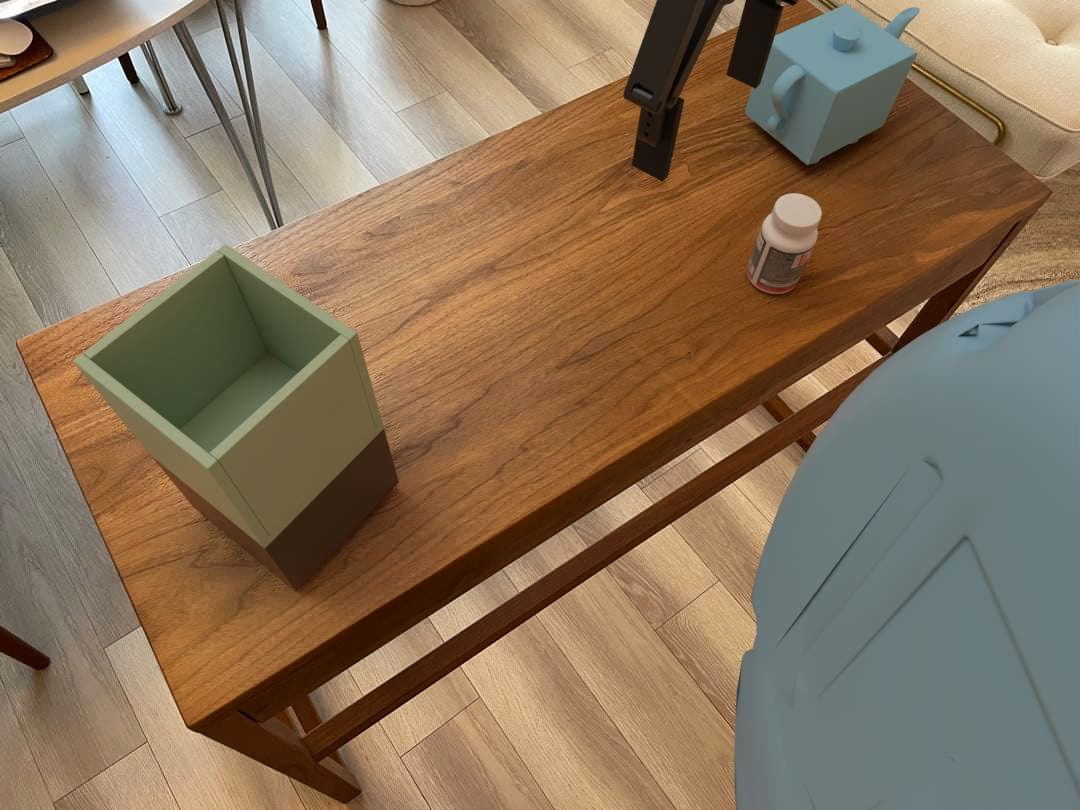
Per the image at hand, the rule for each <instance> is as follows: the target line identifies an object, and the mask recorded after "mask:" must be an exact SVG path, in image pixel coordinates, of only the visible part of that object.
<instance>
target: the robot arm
mask: <svg viewBox="0 0 1080 810" xmlns="http://www.w3.org/2000/svg"><path fill="white" fill-rule="evenodd" d="M735 1H736V0H656V2H655V5H654V7H653V10H652V13H651V15H650V18H649V21H648V24H647V27H646V29H645V32H644V35H643V38H642V41H641V43H640V46H639V48H638V52H637V54H636V57H635V60H634V63H633V65H632V68H631V71H630V74H629V77H628V79H627V82H626V84H625V87H624V89H623V94H622V95H623V96H622V98H623V99H624V100H625V101H627V102H629V103H632V104H634V105H635V106H638V107H640V111H639V118H638V123H637V130H636V136H635V142H634V147H633V155H632V160H631V166H632V167H633V168H636V169H638V170H639V171H641V172H644V173H645V174H647V175H649V176H651V177H653V178H655V179H657V180H658V181H660V182H664V181H665V180H666V179H668V177H669V174H670V169H671V165H672V160H673V156H674V151H675V146H676V142H677V138H678V133H679V128H680V125H681V124H680V122H681V119H682V113H683V108H684V105H685V99H684V98H682V97H680V95H681V93H682V91H683V89H685V88H684V87H685V86H686V83H687V82H688V80H689V78H690V75H691V73H692V71H693V69H694V67H695V65H696V63H697V61H698V59H699V57H700V55H701V53H702V51H703V49H704V47H705V45H706V43H707V41H708V39H709V37H710V35H711V33H712V30H713V28H714V26H715V24H716V22H717V21H718V19H719V17H720V15H721V12H722V11H723V8H724V7H725V6H727V5H731V4H733V3H734V2H735ZM798 2H799V0H745V1H744V4H743V9H742V13H741V16H740V20H739V24H738V29H737V33H736V37H735V40H734V43H733V46H732V47H733V48H732V51H731V55H730V59H729V63H728V67H727V71H726V74H725V75H726V76H727V77H730V78H732V79H734V80H735V81H738V82H741V84H742V83H743V84H744V85H746V86H748V87H751V88H752V87H753V88H755V89H756V88H757V87H758V86H759V85H760V83H761V80H762V77H763V73H764V70H765V67H766V64H767V60H768V57H769V54H770V50H771V47H772V44H773V40H774V37H775V36H776V35H777V30H778V27H779V24H780V20H781V17H782V13H783V11H784V6H783V5H781V4H782V3H785V4H786V5H788V6H792V7H795V6H796V5H797V3H798ZM750 601H751V606H752V609H753V612H754V615H755V618H756V635H755V639H754V642H753V646H752V648H750V649H748V650H746V651H745V652H744V653H743V655H742V656H741V663H740V668H739V673H738V680H737V684H736V685H737V686H736V690H735V691H736V692H735V716H734V720H735V721H734V745H733V756H734V757H733V775H734V776H733V781H734V782H733V784H734V802H735V810H1080V278H1079V279H1071V280H1065V281H1061V282H1059V283H1055V284H1051V285H1048V286H1044V287H1041V288H1037V289H1033V290H1027V291H1020V292H1016V293H1013V294H1009V295H1004V296H1001V297H999V298H996V299H994V300H990V301H988V302H985V303H983V304H980V305H977V306H975V307H973V308H971V309H968V310H966V311H964V312H962V313H960V314H957V315H955V316H954V317H952V318H950V319H948V320H946V321H943V322H941V323H939V324H938V325H936V326H935V327H933V328H931V329H929V330H927V331H926V332H924V333H922V334H920V335H919V336H917V337H916V338H915V339H913V340H911V341H910V342H909V343H908V344H906V345H904V346H903V347H902V348H900V349H899V350H897V351H896V352H895V353H894V354H892V355H891V356H890V357H888V358H887V359H886V360H885V361H884V362H883V363H882V364H880V365H879V366H877V367H876V368H875V369H874V370H873V371H872V372H870V373H869V375H868V376H867V377H866V378H864V380H862V382H860V383H859V384H858V385H857V386H856V387H855V388H854V390H852V391H851V393H850V394H848V396H847V397H846V398H845V399H844V400H843V401H842V402H841V404H840V405H839V406H838V408H837V409H836V410H835V412H833V414H832V415H831V417H830V418H829V420H828V421H827V422H826V424H825V425H824V426H823V428H822V429H820V431H819V433H818V434H817V435H816V437H815V438H814V440H813V442H812V443H811V445H810V447H809V448H808V449H807V451H806V453H805V454H804V457H803V458H802V460H801V462H800V463H799V464H798V467H797V469H796V470H795V472H794V474H793V476H792V478H791V480H790V482H789V484H788V486H787V488H786V490H785V492H784V494H783V497H782V498H781V502H780V504H779V506H778V508H777V512H776V514H775V515H774V519H773V522H772V524H771V527H770V530H769V532H768V535H767V537H766V540H765V543H764V546H763V549H762V552H761V555H760V559H759V562H758V565H757V569H756V574H755V578H754V582H753V585H752V590H751V593H750Z"/></svg>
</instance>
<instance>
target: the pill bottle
mask: <svg viewBox="0 0 1080 810" xmlns="http://www.w3.org/2000/svg"><path fill="white" fill-rule="evenodd" d="M822 215H823V214H822V208H821V206H820V205H819V204H818V202H817V201H816V200H815V199H814V198H812V197H810V196H809V195H806V194H802V193H797V192H792V193H786V194H783V195H781V196H780V197H779V198H777V200H776V201H775V203H774V206H773V208H772V210H771V212H770V214H768V215H767V216H766V217H765V218H764V220H763V222H762V224H761V226H760V230H759V232H758V236H757V237H756V241H755V243H754V247H753V249H752V251H751V254H750V258H749V260H748V263H747V266H746V275H747V279H748V280H749V282H750V283H751V284H752V285H753V287H755V288H756V289H757V290H759V291H761V292H764V293H766V294H771V295H782V294H786V293H789V292H790V291H792V290H793V289H795V287H796V286H797V285H798V283H799V281H800V279H801V277H802V274H803V272H804V270H805V267H806V265H807V263H808V261H809V259H810V257H811V254H812V252H813V250H814V248H815V245H816V243H817V240H818V235H819V232H818V227H819V224H820V221H821V219H822Z"/></svg>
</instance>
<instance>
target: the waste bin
mask: <svg viewBox="0 0 1080 810" xmlns="http://www.w3.org/2000/svg"><path fill="white" fill-rule="evenodd" d="M72 363H73V364H74V365H75V366H76V367H77V368H78V370H79V371H80V372H81V373H82V375H83V376H84V377H85V378H86V379H87V381H88V383H90V384H91V386H92V387H93V388H94V389H95V390H96V392H97V393H98V394H99V395H100V396H101V397H102V399H103V400H104V402H106V404H107V405H108V406H109V407H110V408H111V410H112V411H113V412H114V413H115V414H116V416H117V417H118V418H119V419H120V421H121V422H122V423H123V424H124V425H125V426H126V428H127V429H128V430H129V431H130V433H131V434H132V435H133V436H134V437H135V439H136V440H137V441H138V442H139V443H140V445H141V446H142V447H143V448H144V450H145V451H146V452H147V453H148V454H149V456H150V457H151V458H152V460H154V462H155V463H156V464H157V465H158V466H159V467H160V469H161V470H162V471H163V473H164V474H165V475H166V476H167V477H168V478H169V480H170V481H171V482H172V483H173V485H174V486H175V487H176V488H177V490H179V492H180V493H181V494H182V495H183V497H185V500H187V501H188V502H189V504H190V505H191V506H192V507H193V508H194V509H195V510H196V511H197V512H198V513H200V515H202V516H203V517H205V518H206V519H207V520H208V521H209V522H211V523H212V524H213V525H214V526H216V527H217V528H218V529H219V530H220V531H221V532H222V533H224V534H225V535H226V536H227V537H229V538H230V539H231V540H232V541H234V542H235V543H236V544H237V545H239V546H240V547H241V548H242V549H243V550H244V551H246V552H247V553H248V554H249V555H251V556H252V557H253V558H254V559H256V560H257V561H258V562H259V563H260V564H261V565H262V566H264V567H265V568H266V569H268V570H269V571H270V572H271V573H273V574H274V575H275V576H276V577H277V578H278V579H280V580H281V581H283V583H284V584H286V585H287V586H288V587H289V588H291V589H292V590H293V591H294V592H296V593H297V592H298V591H299V590H300V589H301V588H302V587H303V586H304V584H305V583H306V582H307V581H308V580H309V579H310V578H311V577H312V576H313V575H314V574H315V573H316V572H317V571H318V569H320V568H321V566H322V565H323V564H324V563H325V562H326V561H327V560H328V559H329V558H330V557H331V555H333V553H334V552H335V551H336V550H337V549H338V548H339V547H340V546H341V545H342V544H343V543H344V542H345V541H346V540H347V538H348V537H349V536H350V535H351V534H352V533H353V532H354V531H355V530H356V529H357V528H358V527H359V526H360V525H361V524H362V523H363V522H364V521H365V519H366V518H367V517H369V515H370V514H371V513H372V512H373V511H374V510H375V509H376V508H377V507H378V505H380V503H382V502H383V500H384V499H385V498H386V497H387V496H388V495H389V494H390V493H391V492H392V491H393V490H394V489H395V488H396V487H397V486H398V484H400V481H399V477H398V474H397V470H396V467H395V463H394V459H393V456H392V452H391V448H390V446H389V441H388V437H387V434H386V429H385V427H384V423H383V419H382V417H381V416H382V415H381V413H380V408H379V406H378V405H379V404H378V402H377V398H376V395H375V390H374V388H373V384H372V380H371V376H370V373H369V371H368V369H369V368H368V366H367V362H366V359H365V355H364V351H363V348H362V344H361V341H360V337H359V334H358V332H357V331H356V330H355V329H353V328H351V327H350V326H348V325H347V324H345V323H344V322H343V321H341V320H339V319H338V318H336V316H333V315H332V314H330V313H329V312H328V311H326V310H325V309H323V308H322V307H320V306H318V305H317V304H316V303H314V302H313V301H311V300H310V299H308V298H307V297H305V296H303V295H302V294H301V293H299V292H297V291H296V290H295V289H294V288H293V287H290V286H289V285H287V284H286V283H284V282H283V281H281V280H280V279H279V278H277V277H276V276H274V275H273V274H271V273H270V272H268V271H267V270H265V269H263V268H262V267H260V266H259V265H257V264H256V263H255V262H254V261H251V260H250V259H249V258H247V257H246V256H244V255H242V254H241V253H240V252H238V251H236V250H235V249H233V248H232V247H231V246H229V245H228V244H223V245H222V246H221V247H219V248H218V249H217V250H215V251H213V253H211V254H210V255H209V256H207V257H206V258H205V259H203V260H202V261H201V262H200V263H198V264H197V265H195V266H194V267H193V268H192V269H191V270H189V271H188V272H186V273H185V274H184V275H183V276H181V277H180V278H179V279H177V280H176V281H175V282H173V283H172V284H170V286H168V287H167V288H166V289H164V290H163V291H162V292H160V293H159V294H158V295H156V296H155V297H154V298H152V299H151V300H150V301H149V302H148V303H146V304H145V305H144V306H143V307H141V308H139V309H138V310H137V311H136V312H134V313H133V314H132V315H130V316H129V317H128V318H126V319H125V320H124V321H123V322H121V323H119V325H117V326H116V327H115V328H114V329H112V330H111V331H109V332H108V333H107V334H106V335H104V336H103V337H102V338H100V339H99V340H98V341H96V342H95V343H93V344H92V345H91V346H90V347H89V348H87V349H86V350H84V351H83V352H82V353H80V354H79V355H78V356H77V357H75V358H74V359H73V360H72Z"/></svg>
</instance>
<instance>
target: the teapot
mask: <svg viewBox="0 0 1080 810" xmlns="http://www.w3.org/2000/svg"><path fill="white" fill-rule="evenodd" d="M920 11H921V10H920V8H919V7H916V6H912V7H908V8H906V9H904V10H902V11H900V12H899V13H898V14H897V15H896V16H895V17H894V18H893V19H892V20H891V21H890V22H889V23H888V24H887V26H886V27H885V28H882V27H881V26H879V24H876V23H875V22H874V21H873V20H871V19H869V18H868V17H866V16H865V15H863V14H861V12H859V11H857V10H856V9H855V8H853V7H852V6H850V5H849V4H843V5H842V6H839V7H837V8H834V9H832V10H830V11H827V12H825V13H823V14H820V15H818V16H816V17H813V18H811V19H809V20H807V21H804V22H802V23H800V24H798V25H796V26H793V27H791V28H788V29H787V30H785V31H782V32H780V33H778V34H775V37H774V40H773V44H772V47H771V50H770V54H769V57H768V60H767V64H766V67H765V70H764V73H763V77H762V80H761V83H760V85H759V86H758V87H757V88H756V89H755V88H753V87H751V89H750V93H749V97H748V100H747V103H746V106H745V109H744V110H745V111H744V114H745V115H746V116H747V117H748V118H750V120H752V121H753V122H755V124H757V125H758V126H759V127H760V128H761V129H762V130H764V131H765V132H766V133H768V134H769V135H770V136H772V137H773V139H775V140H776V141H777V142H778V143H780V144H781V145H782V146H783V147H785V148H786V149H787V150H788V151H790V152H791V153H792V154H793V155H794V156H795V157H797V158H798V159H799V160H800V161H801V162H802V163H804V164H805V165H807V166H809V165H815V164H817V163H819V162H820V161H821V159H822V158H825V157H826V156H828V155H831V154H832V153H834V152H836V151H838V150H840V149H842V148H844V147H845V146H848V145H850V144H851V145H852V144H855V143H857V142H858V141H859V139H861V138H863V137H865V136H866V135H869V134H871V133H872V132H874V131H876V130H878V129H880V128H882V127H883V126H884V125H885V124H886V123H885V122H886V121H887V119H888V117H889V115H890V113H891V110H892V108H893V106H894V104H895V102H896V100H897V97H898V96H899V94H900V92H901V90H902V87H903V85H904V83H905V81H906V79H907V77H908V75H909V73H910V72H911V69H912V67H913V65H914V62H915V60H916V58H917V56H918V52H917V51H916V50H914V49H913V48H911V47H910V46H908V45H907V44H905V43H904V42H903V41H902V40H900V38H901V36H902V35H903V32H904V31H905V30H906V28H907V27H908V25H909V24H910V23H911V22H912V21H913V20H914V19H915V18H916V17H917V16H918V15H919V14H920Z"/></svg>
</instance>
